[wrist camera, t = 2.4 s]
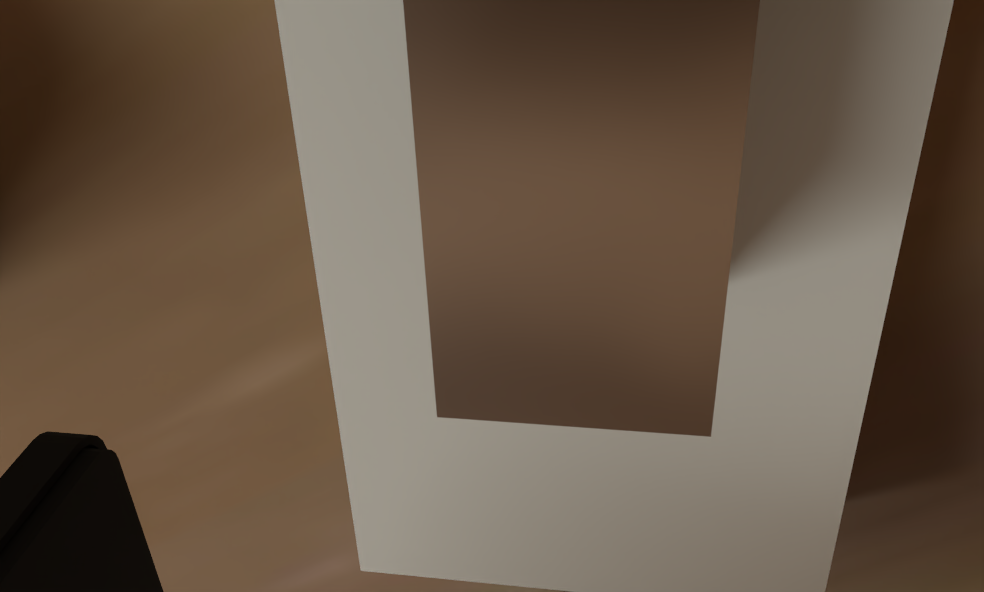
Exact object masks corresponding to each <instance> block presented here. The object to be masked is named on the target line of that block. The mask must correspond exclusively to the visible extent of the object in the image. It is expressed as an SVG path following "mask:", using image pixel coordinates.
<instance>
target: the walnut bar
mask: <svg viewBox="0 0 984 592" xmlns="http://www.w3.org/2000/svg"><path fill="white" fill-rule="evenodd" d="M759 5H760V0H403V6H404V19H405V31H406V43H407V55H408V68H409V80H410V92H411V105H412V117H413V129H414V141H415V154H416V166H417V178H418V190H419V203H420V215H421V227H422V240H423V252H424V264H425V276H426V289H427V301H428V313H429V325H430V338H431V350H432V362H433V375H434V387H435V399H436V411H437V417H442V418H456V419H470V420H484V421H498V422H511V423H525V424H539V425H553V426H567V427H581V428H595V429H609V430H623V431H637V432H651V433H665V434H679V435H693V436H707V437H711V432H712V423H713V414H714V405H715V396H716V387H717V378H718V369H719V361H720V352H721V343H722V334H723V325H724V316H725V307H726V298H727V289H728V281H729V272H730V263H731V254H732V245H733V236H734V227H735V218H736V209H737V200H738V192H739V183H740V174H741V165H742V156H743V147H744V138H745V129H746V120H747V112H748V103H749V94H750V85H751V76H752V67H753V58H754V49H755V40H756V32H757V23H758V14H759Z"/></svg>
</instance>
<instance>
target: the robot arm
mask: <svg viewBox="0 0 984 592" xmlns="http://www.w3.org/2000/svg"><path fill="white" fill-rule="evenodd" d="M0 592H163V589H162V586H161V583H160V580H159V577H158V574H157V571H156V569H155V566H154V563H153V560H152V557H151V554H150V551H149V548H148V545H147V542H146V539H145V536H144V533H143V530H142V527H141V524H140V521H139V518H138V515H137V512H136V509H135V506H134V503H133V500H132V497H131V495H130V492H129V489H128V486H127V483H126V480H125V477H124V474H123V471H122V468H121V465H120V462H119V459H118V457H117V455H116V453H115V452H113V451H112V450H107V448H106V446H105V444H104V442H103V440H101V439H100V438H99V437H98V436H94V435H83V434H71V433H59V432H45V433H42V434H40V435H38V436H37V437H36V438H35V439H34V440H33V441H32V442H31V443H30V444H29V445H28V447H27V448H26V449H25V450H24V451H23V452H22V453H21V455H20V456H19V457H18V458H17V459H16V460H15V462H14V463H13V464H12V465H11V466H10V467H9V469H8V470H7V471H6V472H5V473H4V474H3V475H2V477H1V478H0Z"/></svg>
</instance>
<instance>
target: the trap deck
mask: <svg viewBox="0 0 984 592" xmlns="http://www.w3.org/2000/svg"><path fill="white" fill-rule="evenodd" d="M953 2H954V0H760V5H759V14H758V23H757V32H756V40H755V49H754V58H753V67H752V76H751V85H750V94H749V103H748V112H747V120H746V129H745V138H744V147H743V156H742V165H741V174H740V183H739V192H738V200H737V209H736V218H735V227H734V236H733V245H732V254H731V263H730V272H729V281H728V289H727V298H726V307H725V316H724V325H723V334H722V343H721V352H720V361H719V369H718V378H717V387H716V396H715V405H714V414H713V423H712V432H711V437H707V436H693V435H679V434H665V433H651V432H637V431H623V430H609V429H595V428H581V427H567V426H553V425H539V424H525V423H511V422H498V421H484V420H470V419H456V418H442V417H437V411H436V399H435V387H434V375H433V362H432V350H431V338H430V325H429V313H428V301H427V289H426V276H425V264H424V252H423V240H422V227H421V215H420V203H419V190H418V178H417V166H416V154H415V141H414V129H413V117H412V105H411V92H410V80H409V68H408V55H407V43H406V31H405V19H404V6H403V0H275V7H276V13H277V20H278V26H279V33H280V40H281V46H282V53H283V59H284V66H285V73H286V79H287V86H288V93H289V99H290V106H291V112H292V119H293V126H294V132H295V139H296V145H297V152H298V159H299V165H300V172H301V178H302V185H303V192H304V198H305V205H306V212H307V218H308V225H309V231H310V238H311V245H312V251H313V258H314V264H315V271H316V278H317V284H318V291H319V297H320V304H321V311H322V317H323V324H324V331H325V337H326V344H327V350H328V357H329V364H330V370H331V377H332V383H333V390H334V397H335V403H336V410H337V416H338V423H339V430H340V436H341V443H342V450H343V456H344V463H345V469H346V476H347V483H348V489H349V496H350V502H351V509H352V516H353V522H354V529H355V535H356V542H357V549H358V555H359V562H360V569H361V571H369V572H379V573H389V574H399V575H410V576H420V577H430V578H440V579H450V580H460V581H471V582H481V583H491V584H501V585H511V586H522V587H532V588H542V589H552V590H562V591H572V592H825V590H826V585H827V581H828V576H829V572H830V567H831V562H832V558H833V553H834V549H835V544H836V539H837V535H838V530H839V526H840V521H841V516H842V512H843V507H844V503H845V498H846V494H847V489H848V484H849V480H850V475H851V471H852V466H853V461H854V457H855V452H856V448H857V443H858V438H859V434H860V429H861V425H862V420H863V415H864V411H865V406H866V402H867V397H868V392H869V388H870V383H871V379H872V374H873V370H874V365H875V360H876V356H877V351H878V347H879V342H880V337H881V333H882V328H883V324H884V319H885V314H886V310H887V305H888V301H889V296H890V291H891V287H892V282H893V278H894V273H895V269H896V264H897V259H898V255H899V250H900V246H901V241H902V236H903V232H904V227H905V223H906V218H907V213H908V209H909V204H910V200H911V195H912V190H913V186H914V181H915V177H916V172H917V167H918V163H919V158H920V154H921V149H922V145H923V140H924V135H925V131H926V126H927V122H928V117H929V112H930V108H931V103H932V99H933V94H934V89H935V85H936V80H937V76H938V71H939V66H940V62H941V57H942V53H943V48H944V44H945V39H946V34H947V30H948V25H949V21H950V16H951V11H952V7H953Z"/></svg>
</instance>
